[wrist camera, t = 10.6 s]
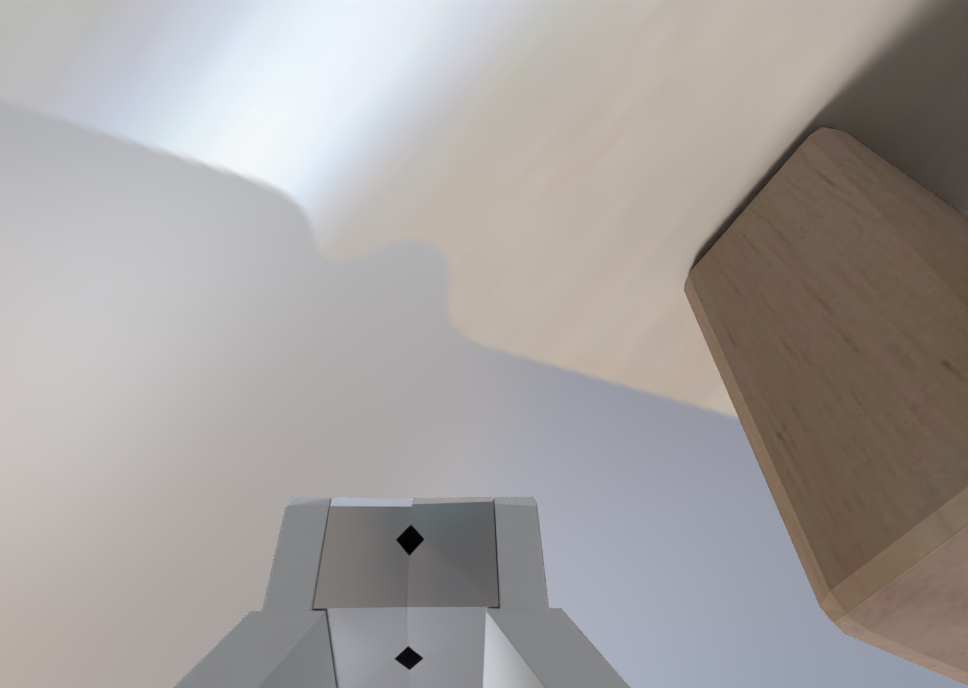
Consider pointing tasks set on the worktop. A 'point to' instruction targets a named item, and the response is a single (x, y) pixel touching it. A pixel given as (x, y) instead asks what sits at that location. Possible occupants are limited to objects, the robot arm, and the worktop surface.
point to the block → (855, 386)
